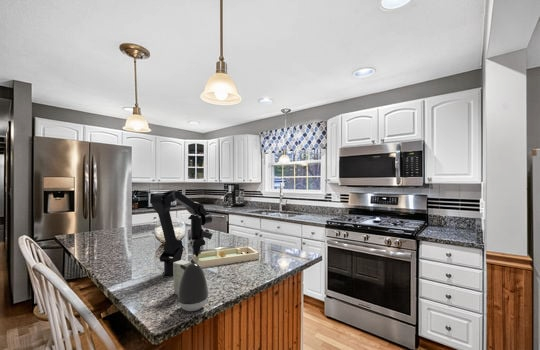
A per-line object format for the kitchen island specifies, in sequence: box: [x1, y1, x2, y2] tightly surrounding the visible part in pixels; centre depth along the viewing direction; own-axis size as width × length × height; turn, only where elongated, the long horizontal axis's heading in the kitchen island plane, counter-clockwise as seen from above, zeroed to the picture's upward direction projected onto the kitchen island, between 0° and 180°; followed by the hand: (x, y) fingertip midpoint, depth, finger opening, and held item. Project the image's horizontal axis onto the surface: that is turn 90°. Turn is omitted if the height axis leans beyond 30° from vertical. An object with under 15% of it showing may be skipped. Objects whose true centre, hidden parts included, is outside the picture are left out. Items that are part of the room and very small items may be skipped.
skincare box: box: [172, 259, 192, 295], centre depth 99 cm, size 6×4×12 cm
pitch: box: [192, 246, 260, 269], centre depth 142 cm, size 16×34×4 cm, turn 115°
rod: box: [191, 245, 236, 258], centre depth 141 cm, size 3×24×6 cm, turn 115°
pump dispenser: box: [177, 262, 209, 312], centre depth 87 cm, size 10×10×15 cm
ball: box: [220, 251, 226, 257], centre depth 143 cm, size 4×4×4 cm
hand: (196, 255), depth 136 cm, fingers closed on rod, 3 cm apart
